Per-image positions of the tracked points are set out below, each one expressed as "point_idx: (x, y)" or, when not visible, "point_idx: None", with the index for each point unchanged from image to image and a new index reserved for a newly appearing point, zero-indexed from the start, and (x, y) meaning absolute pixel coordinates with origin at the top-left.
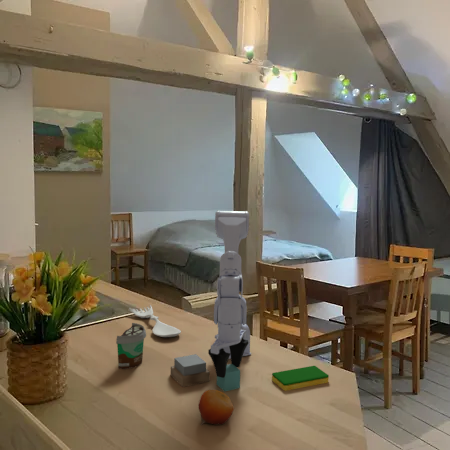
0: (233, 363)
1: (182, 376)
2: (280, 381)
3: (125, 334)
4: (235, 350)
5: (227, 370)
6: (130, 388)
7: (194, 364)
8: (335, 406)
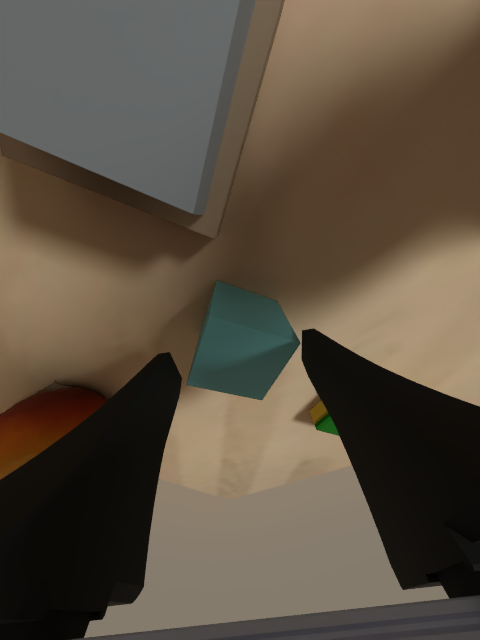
0: (308, 347)
1: (6, 135)
2: (327, 415)
3: None
4: (358, 431)
5: (218, 374)
6: None
7: (68, 148)
8: (300, 466)
